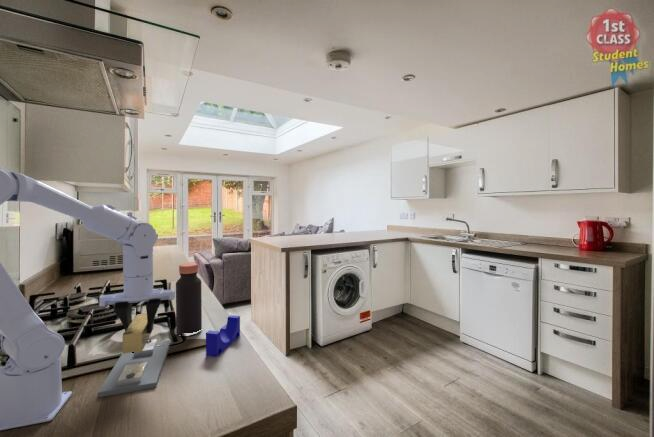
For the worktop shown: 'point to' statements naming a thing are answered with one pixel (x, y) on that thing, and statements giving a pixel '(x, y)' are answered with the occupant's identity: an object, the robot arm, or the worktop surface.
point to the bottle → (188, 300)
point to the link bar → (136, 334)
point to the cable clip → (222, 337)
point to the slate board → (153, 363)
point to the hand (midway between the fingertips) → (139, 332)
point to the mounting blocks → (137, 366)
